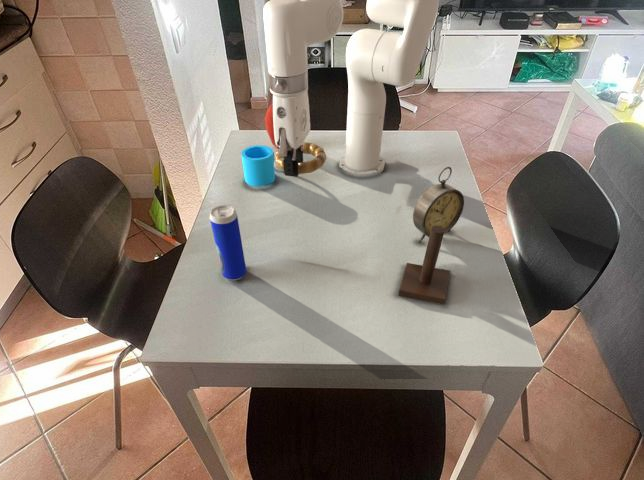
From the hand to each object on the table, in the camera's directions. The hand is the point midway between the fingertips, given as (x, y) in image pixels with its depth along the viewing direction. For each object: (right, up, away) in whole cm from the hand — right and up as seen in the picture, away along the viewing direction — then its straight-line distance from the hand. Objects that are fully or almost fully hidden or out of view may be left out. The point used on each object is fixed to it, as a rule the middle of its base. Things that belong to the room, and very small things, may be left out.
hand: (293, 171), depth 96 cm
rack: (+27, -27, -9) cm, 39 cm away
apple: (-4, +20, +32) cm, 38 cm away
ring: (+1, +4, +2) cm, 5 cm away
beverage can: (-12, -24, -5) cm, 28 cm away
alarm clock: (+32, -14, +2) cm, 35 cm away
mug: (-9, +6, +20) cm, 23 cm away
